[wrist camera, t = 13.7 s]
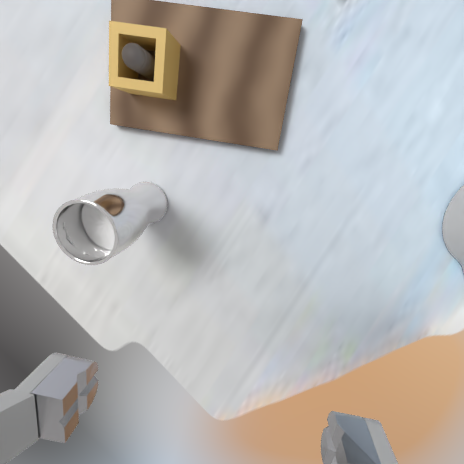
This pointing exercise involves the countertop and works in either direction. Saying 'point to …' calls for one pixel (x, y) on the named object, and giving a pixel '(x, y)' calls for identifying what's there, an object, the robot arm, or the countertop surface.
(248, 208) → the countertop surface
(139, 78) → the base plate
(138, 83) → the sleeve
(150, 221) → the beer glass
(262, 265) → the countertop surface
